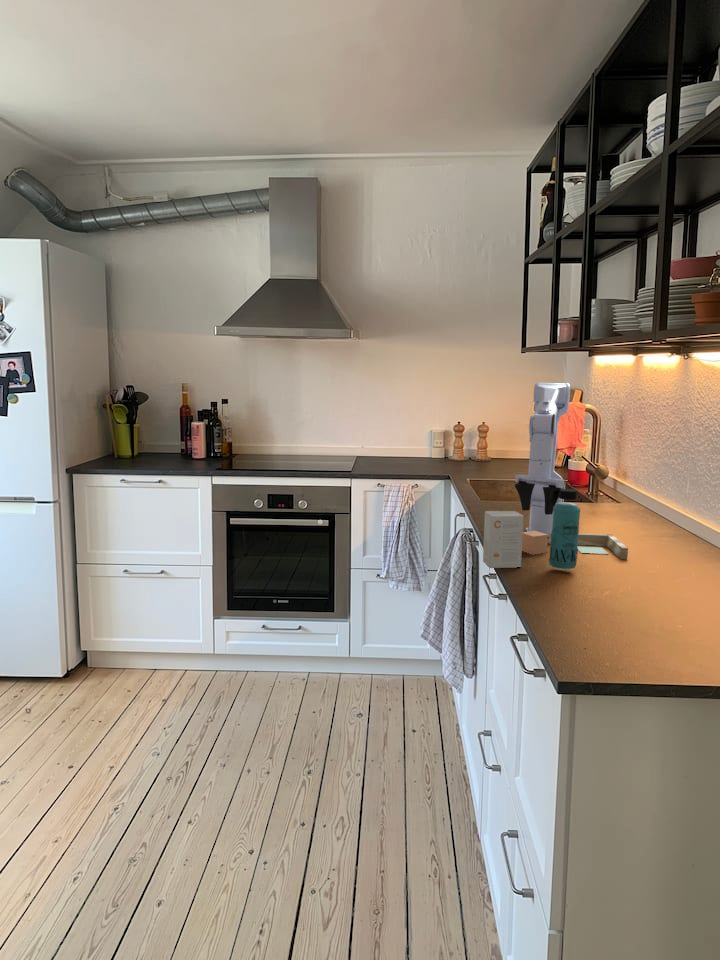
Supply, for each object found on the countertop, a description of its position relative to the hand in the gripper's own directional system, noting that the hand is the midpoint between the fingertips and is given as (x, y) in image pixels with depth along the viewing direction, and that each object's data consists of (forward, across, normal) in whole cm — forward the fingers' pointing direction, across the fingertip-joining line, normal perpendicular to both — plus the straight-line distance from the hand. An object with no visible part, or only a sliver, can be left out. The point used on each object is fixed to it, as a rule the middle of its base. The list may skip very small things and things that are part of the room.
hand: (537, 512), depth 187 cm
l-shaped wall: (+10, +6, +14) cm, 18 cm away
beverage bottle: (+12, +15, -7) cm, 20 cm away
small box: (+12, +3, -15) cm, 20 cm away
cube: (+11, -2, +1) cm, 11 cm away
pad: (+10, +6, +16) cm, 20 cm away
